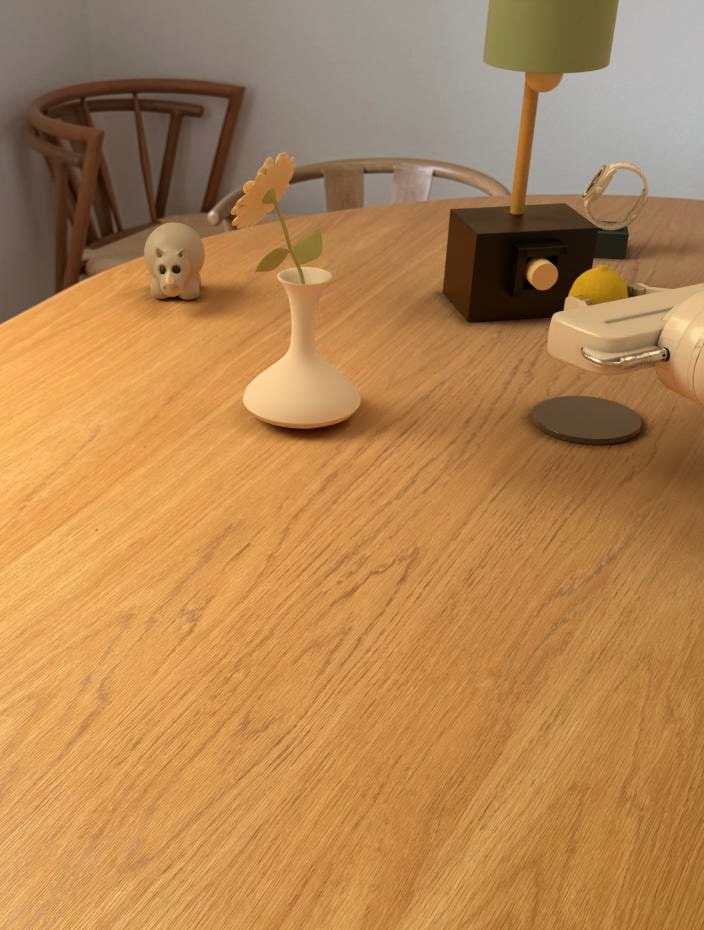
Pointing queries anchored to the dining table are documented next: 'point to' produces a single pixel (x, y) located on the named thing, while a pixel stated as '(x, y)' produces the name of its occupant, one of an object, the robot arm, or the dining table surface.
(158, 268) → the round bodied animal figurine
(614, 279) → the lemon
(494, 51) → the desk lamp
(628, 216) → the watch
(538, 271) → the lamp switch
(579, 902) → the dining table surface
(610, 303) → the robot arm
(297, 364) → the flower in vase
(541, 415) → the coaster
